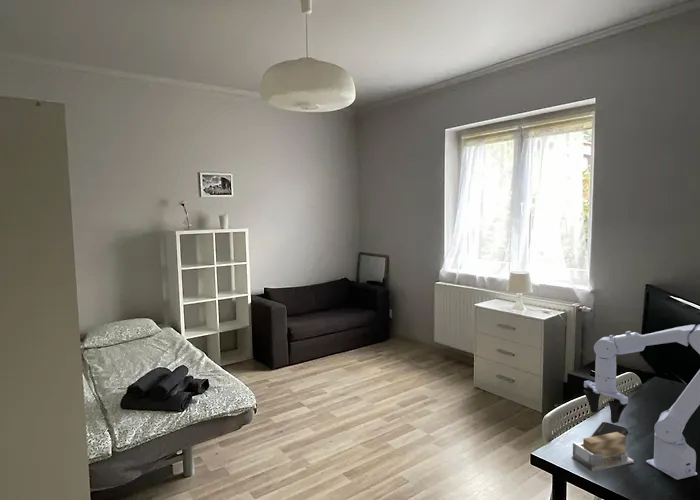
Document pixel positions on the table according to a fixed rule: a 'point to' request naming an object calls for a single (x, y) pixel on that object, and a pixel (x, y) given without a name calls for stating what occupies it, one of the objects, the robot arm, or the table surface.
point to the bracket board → (598, 458)
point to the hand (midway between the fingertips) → (604, 416)
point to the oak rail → (606, 444)
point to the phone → (609, 429)
